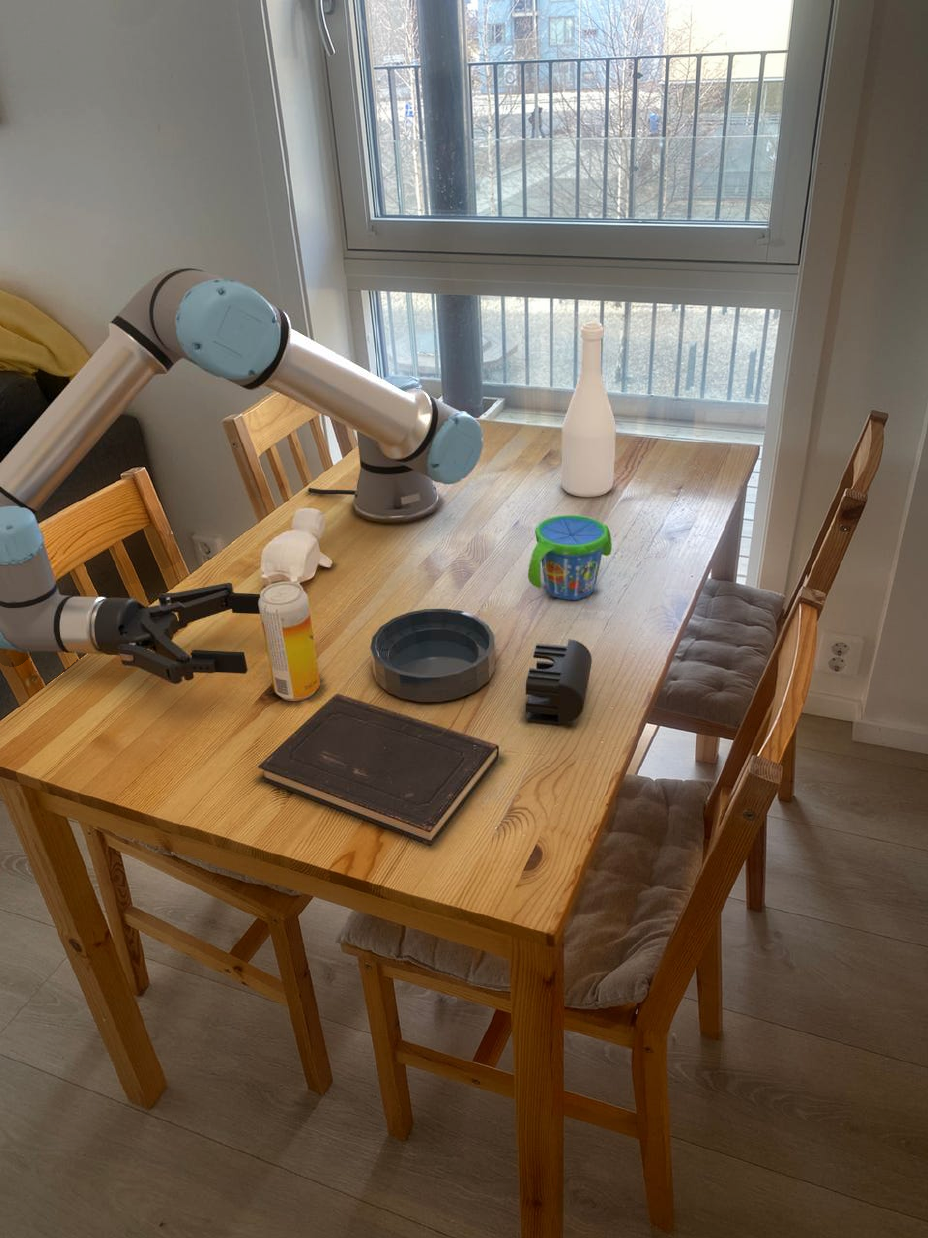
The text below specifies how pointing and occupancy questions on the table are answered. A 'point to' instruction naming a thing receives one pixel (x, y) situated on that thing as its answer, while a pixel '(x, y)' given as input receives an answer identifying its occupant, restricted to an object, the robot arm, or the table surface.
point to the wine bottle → (589, 426)
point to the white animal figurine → (295, 550)
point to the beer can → (289, 640)
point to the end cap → (558, 683)
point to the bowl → (433, 655)
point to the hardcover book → (381, 766)
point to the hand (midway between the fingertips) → (262, 632)
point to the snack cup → (569, 555)
